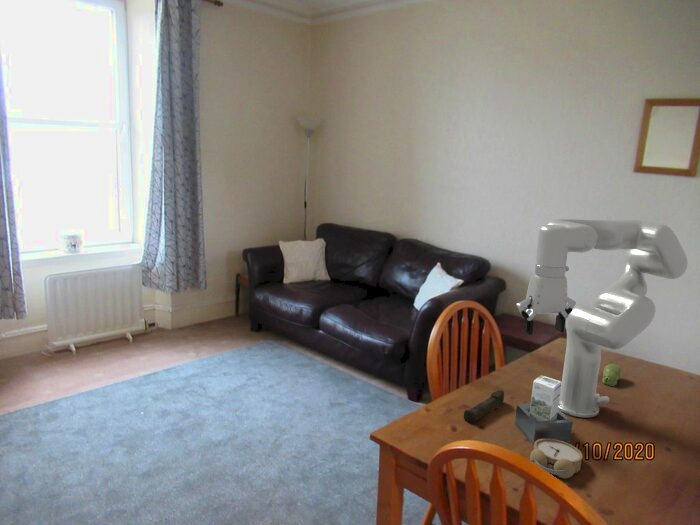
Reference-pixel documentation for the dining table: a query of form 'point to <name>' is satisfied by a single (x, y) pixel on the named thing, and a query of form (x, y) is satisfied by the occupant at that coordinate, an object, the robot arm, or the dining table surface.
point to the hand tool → (484, 407)
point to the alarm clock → (556, 457)
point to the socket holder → (542, 425)
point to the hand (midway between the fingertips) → (543, 331)
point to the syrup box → (545, 398)
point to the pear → (611, 374)
